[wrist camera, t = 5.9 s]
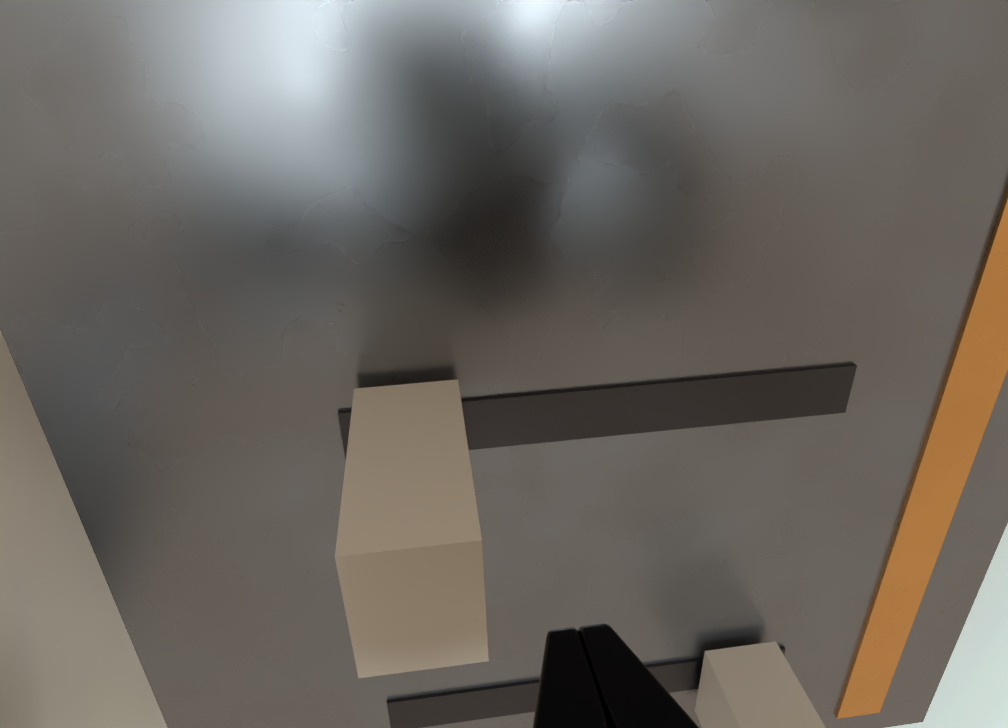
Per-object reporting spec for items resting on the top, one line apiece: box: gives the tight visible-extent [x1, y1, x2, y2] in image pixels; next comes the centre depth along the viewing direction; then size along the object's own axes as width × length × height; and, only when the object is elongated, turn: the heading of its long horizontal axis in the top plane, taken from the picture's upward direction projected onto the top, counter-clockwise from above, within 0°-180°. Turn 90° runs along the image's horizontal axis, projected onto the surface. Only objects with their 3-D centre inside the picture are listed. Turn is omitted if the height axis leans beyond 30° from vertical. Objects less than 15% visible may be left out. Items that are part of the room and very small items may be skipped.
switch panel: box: [0, 0, 1008, 728], centre depth 15 cm, size 22×26×2 cm
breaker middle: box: [335, 379, 489, 678], centre depth 12 cm, size 2×2×4 cm
